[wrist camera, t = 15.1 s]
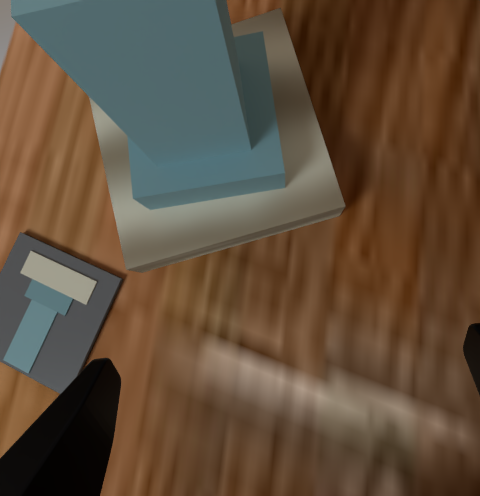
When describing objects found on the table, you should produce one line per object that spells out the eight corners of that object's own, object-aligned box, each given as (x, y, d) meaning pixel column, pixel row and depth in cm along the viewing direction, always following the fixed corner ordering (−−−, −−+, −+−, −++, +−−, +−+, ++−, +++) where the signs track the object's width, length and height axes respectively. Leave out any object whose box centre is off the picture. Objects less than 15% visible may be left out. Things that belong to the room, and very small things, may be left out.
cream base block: (338, 218, 23) (345, 206, 20) (145, 273, 25) (126, 269, 22) (281, 41, 26) (280, 7, 23) (106, 99, 27) (84, 74, 24)
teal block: (285, 187, 21) (281, 14, 8) (150, 210, 22) (-43, 83, 9) (265, 60, 22) (235, -261, 10) (138, 86, 23) (-46, -178, 10)
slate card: (69, 396, 23) (65, 397, 23) (-30, 342, 25) (-35, 343, 24) (123, 279, 24) (120, 278, 24) (23, 233, 25) (19, 232, 25)
